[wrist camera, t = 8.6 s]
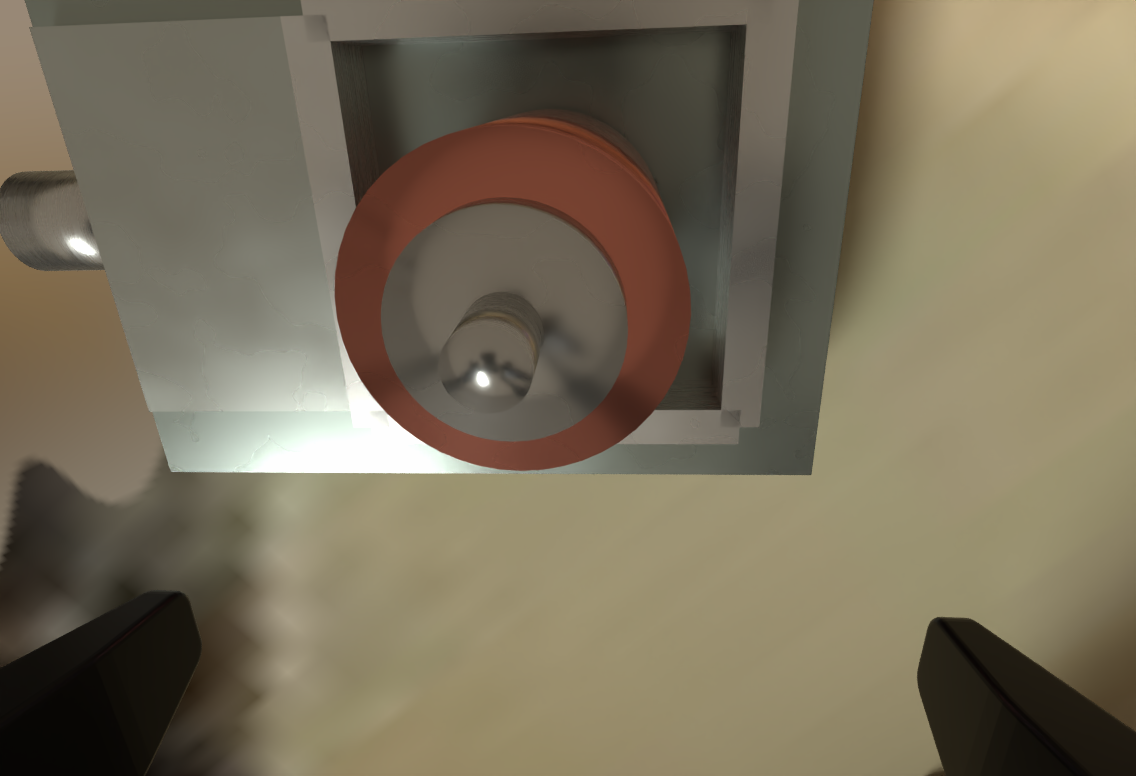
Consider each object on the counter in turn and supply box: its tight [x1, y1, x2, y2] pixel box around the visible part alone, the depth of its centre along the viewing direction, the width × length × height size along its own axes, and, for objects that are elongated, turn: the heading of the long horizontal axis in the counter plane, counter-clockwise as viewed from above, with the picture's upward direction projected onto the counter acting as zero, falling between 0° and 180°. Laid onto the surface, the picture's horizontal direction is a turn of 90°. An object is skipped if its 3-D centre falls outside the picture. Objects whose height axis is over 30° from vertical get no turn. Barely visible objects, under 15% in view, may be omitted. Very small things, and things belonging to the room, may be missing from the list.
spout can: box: [335, 109, 691, 471], centre depth 11 cm, size 5×5×8 cm
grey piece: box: [0, 0, 874, 475], centre depth 16 cm, size 19×12×6 cm, turn 92°
